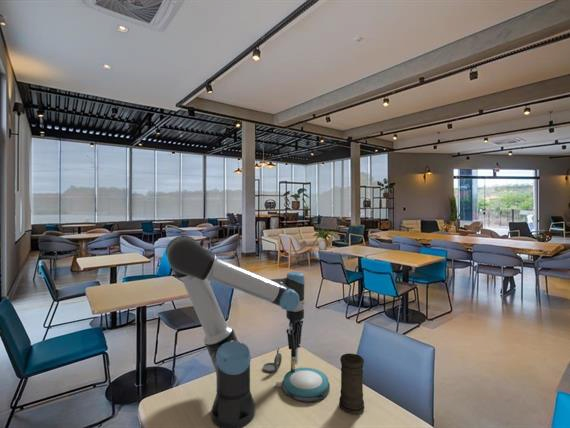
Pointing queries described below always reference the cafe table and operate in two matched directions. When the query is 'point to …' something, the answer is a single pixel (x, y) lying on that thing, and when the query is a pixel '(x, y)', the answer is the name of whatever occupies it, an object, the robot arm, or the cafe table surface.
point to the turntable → (305, 381)
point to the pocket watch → (273, 366)
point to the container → (352, 384)
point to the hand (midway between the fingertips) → (294, 362)
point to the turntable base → (303, 399)
